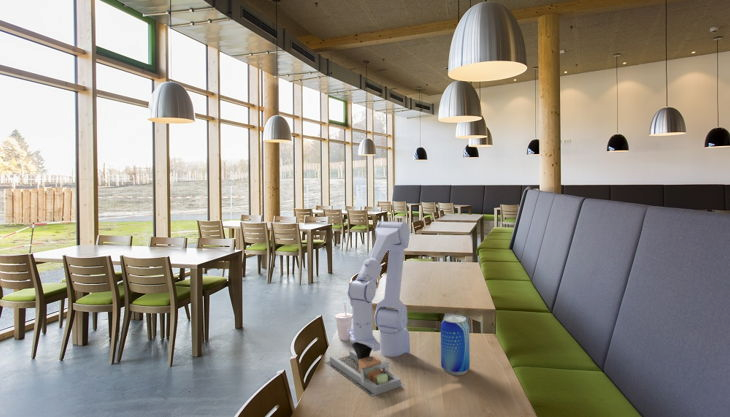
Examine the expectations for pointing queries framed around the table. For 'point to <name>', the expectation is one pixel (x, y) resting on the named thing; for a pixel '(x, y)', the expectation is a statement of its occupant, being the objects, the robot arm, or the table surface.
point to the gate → (366, 370)
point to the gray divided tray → (369, 385)
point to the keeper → (368, 362)
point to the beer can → (455, 345)
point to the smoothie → (343, 323)
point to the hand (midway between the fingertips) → (363, 367)
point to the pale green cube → (382, 378)
